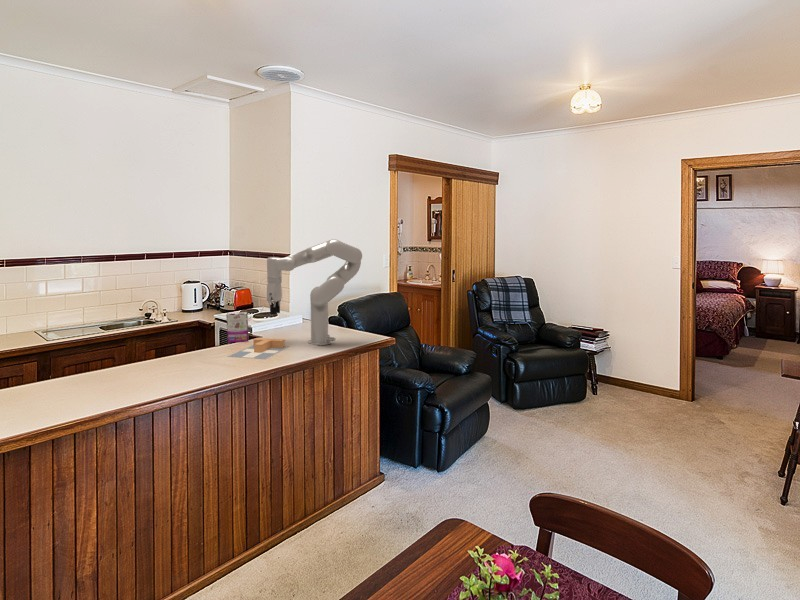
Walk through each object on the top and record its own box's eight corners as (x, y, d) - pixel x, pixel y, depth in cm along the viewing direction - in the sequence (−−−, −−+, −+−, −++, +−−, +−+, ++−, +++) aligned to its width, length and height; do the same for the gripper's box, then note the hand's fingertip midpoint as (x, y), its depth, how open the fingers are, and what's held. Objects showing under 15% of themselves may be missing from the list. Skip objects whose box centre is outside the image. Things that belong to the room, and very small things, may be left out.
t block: (284, 346, 276) (284, 339, 276) (272, 353, 262) (272, 345, 261) (257, 345, 280) (256, 337, 279) (243, 351, 265) (243, 343, 264)
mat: (290, 346, 279) (290, 345, 279) (265, 360, 250) (265, 359, 250) (256, 344, 283) (256, 343, 283) (227, 357, 254) (227, 356, 254)
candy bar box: (248, 340, 293) (247, 311, 291) (248, 342, 288) (247, 313, 286) (227, 341, 290) (226, 312, 288) (227, 343, 285) (226, 313, 283)
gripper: (274, 278, 288) (275, 311, 290) (260, 281, 272) (261, 315, 274) (287, 279, 287) (287, 311, 289) (274, 281, 270) (274, 316, 273)
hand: (275, 313), depth 282 cm, fingers open, 4 cm apart
